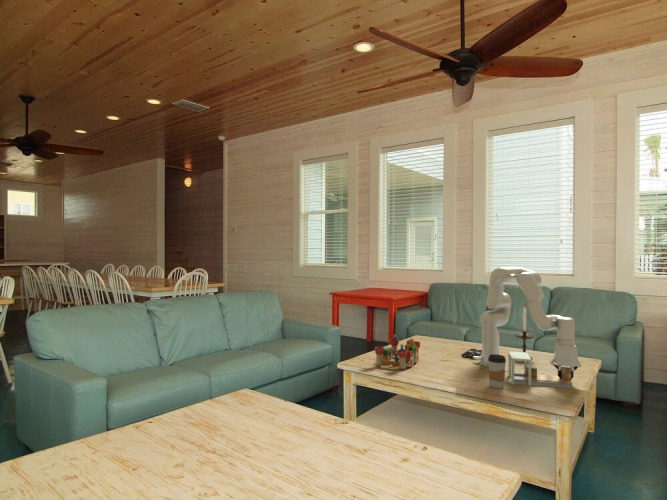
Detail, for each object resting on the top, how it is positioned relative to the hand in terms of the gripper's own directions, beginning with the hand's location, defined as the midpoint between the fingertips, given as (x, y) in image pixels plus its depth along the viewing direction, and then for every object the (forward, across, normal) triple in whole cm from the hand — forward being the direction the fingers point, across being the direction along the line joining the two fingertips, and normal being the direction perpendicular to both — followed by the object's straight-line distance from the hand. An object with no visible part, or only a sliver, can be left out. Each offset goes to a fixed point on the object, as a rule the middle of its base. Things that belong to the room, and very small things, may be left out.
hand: (565, 378), depth 215 cm
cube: (+1, -16, 0) cm, 16 cm away
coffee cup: (+3, -33, -13) cm, 36 cm away
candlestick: (+3, -13, +49) cm, 51 cm away
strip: (+2, -8, 0) cm, 8 cm away
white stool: (+3, -21, 0) cm, 22 cm away
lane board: (+3, -11, 0) cm, 12 cm away
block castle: (+4, -86, +19) cm, 88 cm away
